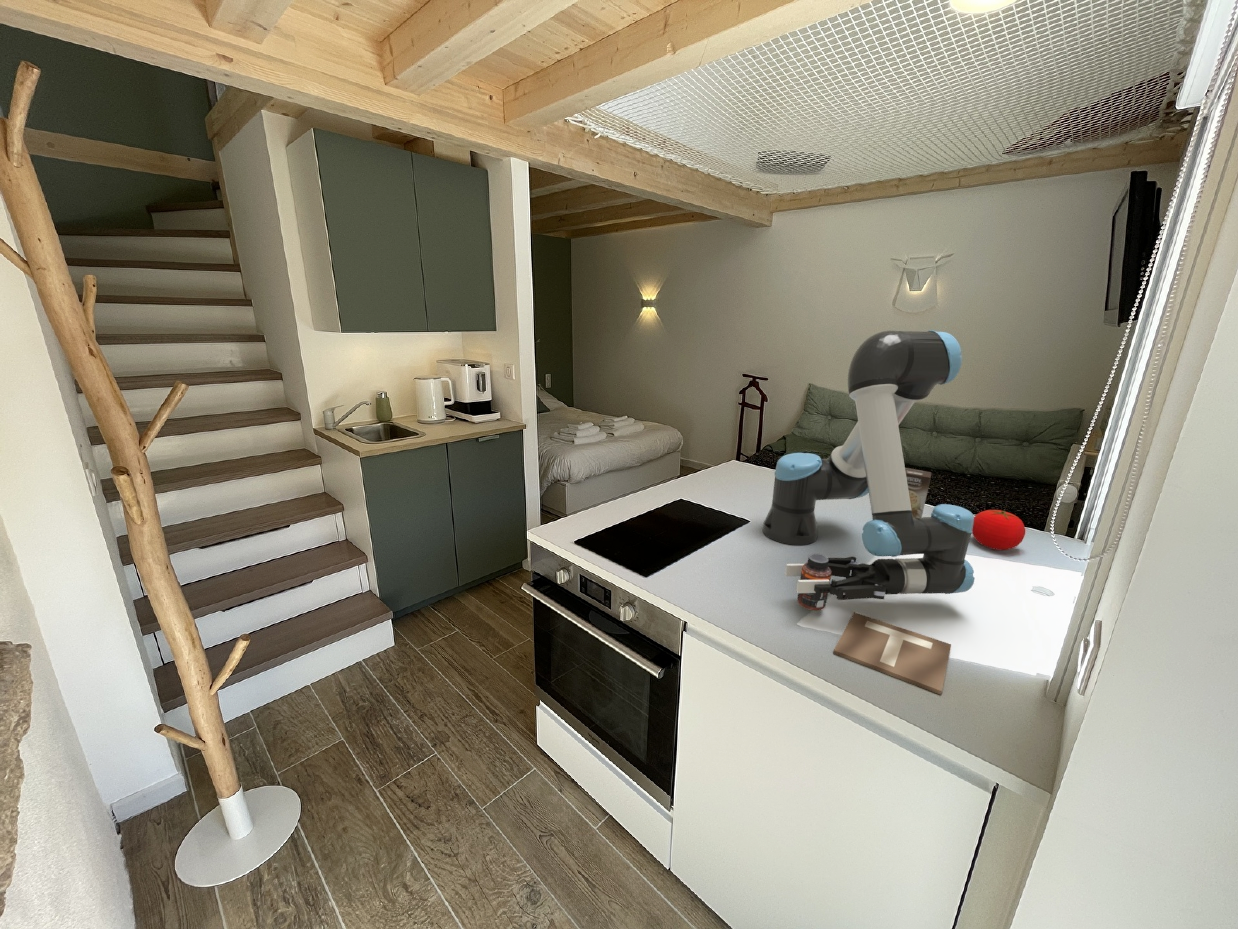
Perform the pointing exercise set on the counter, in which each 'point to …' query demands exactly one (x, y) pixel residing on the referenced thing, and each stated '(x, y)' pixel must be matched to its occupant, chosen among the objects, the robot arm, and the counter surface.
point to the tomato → (998, 529)
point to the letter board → (895, 651)
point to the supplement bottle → (814, 571)
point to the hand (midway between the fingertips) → (791, 578)
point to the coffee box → (917, 489)
